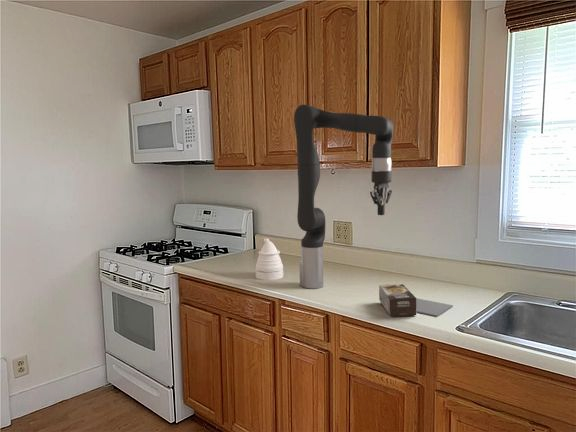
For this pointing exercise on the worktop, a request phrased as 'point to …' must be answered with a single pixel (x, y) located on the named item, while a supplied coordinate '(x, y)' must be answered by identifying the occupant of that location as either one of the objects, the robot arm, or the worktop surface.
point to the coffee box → (397, 300)
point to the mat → (431, 307)
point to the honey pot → (269, 262)
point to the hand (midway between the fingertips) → (380, 215)
